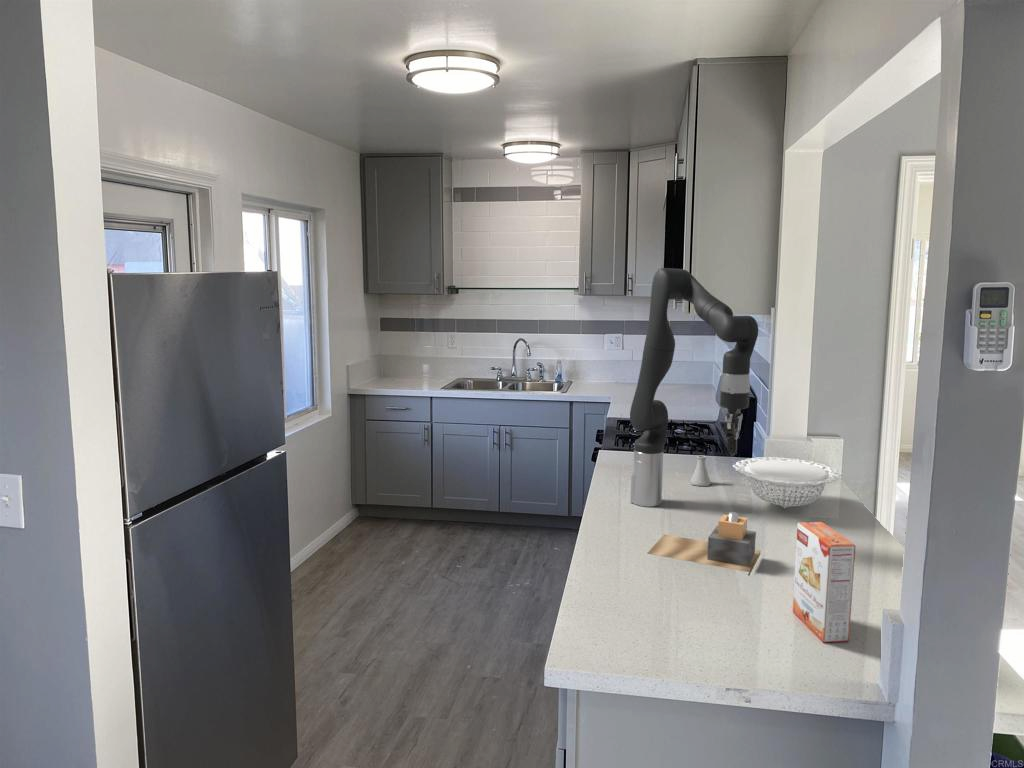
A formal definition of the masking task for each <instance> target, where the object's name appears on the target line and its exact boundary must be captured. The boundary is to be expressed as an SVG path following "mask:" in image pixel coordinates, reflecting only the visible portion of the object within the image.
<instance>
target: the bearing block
mask: <svg viewBox="0 0 1024 768" xmlns="http://www.w3.org/2000/svg"><path fill="white" fill-rule="evenodd" d="M756 538H757V531H755V530H748V529H747V533H746V535H745V536H744V538H743V539H742V540H738V539H732V538H726V537H720V536H718V525H716V526H715V528H714V529H713V530H712V531H711V533H710V534H709V536H708V538H707V541H706V540H705V541H704V540H700V539H693V538H687V537H681V536H677V535H669V534H663V535H662V536H661V537H660V539H659V540H658V541H657V542H655V544H654V545H653V546H652V547H651V548H650V549H649V550H648V551H647V552H646V554H648V555H653V556H660V557H664V558H670V559H675V560H681V561H687V562H693V563H698V564H704V565H709V566H713V567H714V566H715V567H721V568H725V569H730V570H736V571H737V570H738V571H741V572H748V574H747V576H750V575H751V573H752V571H753V569H754V567H756V566H755V565H756V564H757V562H758V560H759V558H760V556H761V550H760V549H756Z"/></svg>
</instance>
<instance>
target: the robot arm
mask: <svg viewBox="0 0 1024 768" xmlns="http://www.w3.org/2000/svg"><path fill="white" fill-rule="evenodd" d="M650 293H651V294H650V303H649V304H650V305H649V306H650V307H649V314H648V315H649V316H648V317H649V318H648V322H647V323H648V324H647V330H646V336H645V341H644V345H643V351H642V357H641V364H640V365H641V366H640V369H639V376H638V380H637V385H636V389H635V392H634V395H633V398H632V403H631V406H630V411H629V421H630V423H631V427H632V428H633V429H634V430H635V431H637V432H643V433H642V434H641V436H640V437H639V438H637V439H636V440H635V441H634V445H633V470H632V471H633V472H632V473H631V474H630V475H631V476H630V477H631V478H630V503H631V504H634V505H636V506H640V507H649V508H650V507H651V508H652V507H658V506H661V505H662V501H663V500H662V499H663V474H664V470H663V469H664V450H665V449H664V448H665V445H666V443H667V439H668V438H667V436H668V427H669V413H668V408H667V406H666V405H665V402H663V401H661V400H657V399H655V395H656V393H657V390H658V388H659V386H660V384H661V382H662V381H663V379H664V378H665V377H666V375H667V374H668V372H669V370H670V369H671V366H672V363H673V360H674V354H675V349H676V339H675V336H674V334H673V331H672V329H671V326H670V323H669V320H668V307H669V306H668V305H669V301H670V300H676V301H677V300H684V301H687V302H689V303H691V304H692V305H693V307H694V311H695V313H696V315H697V316H698V317H699V319H702V321H704V322H705V323H706V324H708V325H709V326H711V328H712V329H713V331H714V332H715V334H716V335H717V337H718V338H719V339H720V340H721V341H724V342H727V343H735V346H734V348H733V349H731V350H728V351H726V352H725V353H724V354H723V357H722V375H721V381H720V394H719V395H720V396H719V400H720V401H719V405H720V407H722V408H726V409H727V412H726V413H725V415H724V423H723V425H724V434H725V438H726V439H727V448H726V449H727V450H726V451H727V453H729V454H730V453H732V454H735V453H736V452H737V451H738V439H739V435H740V434H741V429H742V428H741V426H742V421H743V413H742V412H741V411H742V410H744V409H748V408H749V407H750V406H749V405H750V392H751V391H750V389H751V388H750V387H751V377H750V372H751V370H750V369H751V358H752V354H753V353H754V350H755V349H754V348H755V346H756V343H757V340H758V336H759V325H758V322H757V320H756V319H755V318H754V316H752V315H734V313H733V310H732V308H730V307H729V306H728V305H727V304H726V303H724V302H723V301H721V300H720V299H718V298H717V297H716V296H714V295H713V294H711V293H710V292H709V291H708V290H707V289H706V288H705V287H704V286H703V285H702V284H701V283H700V282H699V281H698V280H697V279H696V278H695V276H694V275H692V273H691V272H689V270H686V269H683V268H670V267H668V268H667V267H662V268H658V269H657V270H656V272H655V273H654V276H653V279H652V283H651V290H650Z"/></svg>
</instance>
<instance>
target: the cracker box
mask: <svg viewBox="0 0 1024 768" xmlns="http://www.w3.org/2000/svg"><path fill="white" fill-rule="evenodd" d="M796 527H797V529H796V530H797V531H796V545H795V549H796V550H795V564H794V579H793V580H794V583H793V585H794V586H793V601H792V613H793V614H794V615H795V616H796V617H797V618H799V620H800V621H801V622H802V623H803V624H804V625H806V627H807V628H808V629H809V630H810V631H811V632H812V633H813V634H814V635H815V636H816V637H817V638H818V639H819V640H820V641H821V642H822V643H840V642H841V643H843V642H849V641H850V632H851V631H850V630H851V616H852V604H853V603H852V602H853V590H854V589H853V588H854V578H855V577H854V576H855V575H854V574H855V562H856V549H857V548H856V547H857V545H856V544H855V543H853V542H852V541H850V540H849V539H847V538H846V537H845V536H843V535H842V534H841V533H839V532H838V531H836V530H834V529H833V528H831V527H830V526H828V525H827V524H825V523H824V522H822V521H814V522H812V521H811V522H810V521H806V522H805V521H804V522H803V521H802V522H797V526H796Z"/></svg>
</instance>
